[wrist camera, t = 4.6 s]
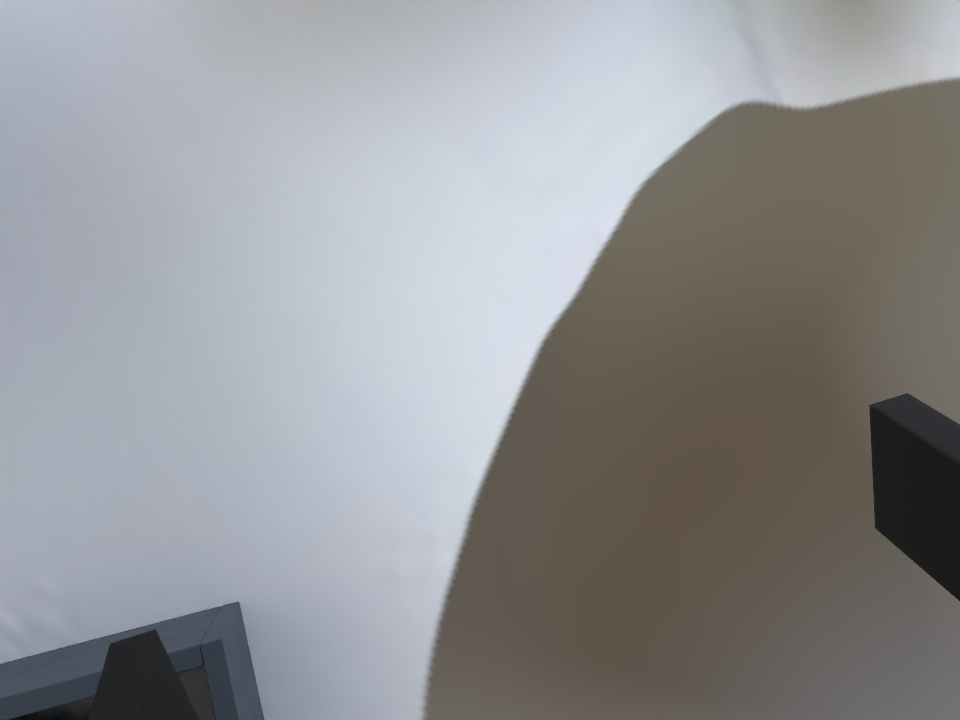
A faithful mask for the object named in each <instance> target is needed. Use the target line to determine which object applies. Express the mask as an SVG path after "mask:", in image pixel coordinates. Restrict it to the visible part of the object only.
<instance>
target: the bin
mask: <svg viewBox="0 0 960 720" xmlns="http://www.w3.org/2000/svg"><path fill="white" fill-rule="evenodd" d="M154 629H156V631H157V633H158V635H159V637H160V639H161V641H162V643H163V645H164V647H165V649H166V652H167V654H168V656H169V658H170V660H171V662H172V664H173V666H174V668H175V670H176V672H177V673H180V672H184V671H187V670H191V669H195V668H198V667H202V666H203V665H204V667H205V672H206V677H207V681H208V686H209V691H210V696H211V701H212V705H213V710H214V715H215V720H264V717H263V712H262V708H261V703H260V698H259V694H258V689H257V684H256V679H255V675H254V670H253V665H252V661H251V656H250V651H249V646H248V642H247V637H246V632H245V627H244V623H243V618H242V613H241V609H240V604H239V602H235V603H231V604H227V605H223V606H222V607H216V608H212V609H208V610H204V611H200V612H197V613H193V614H189V615H185V616H181V617H178V618H174V619H170V620H166V621H162V622H159V623H155V624H151V625H147V626H143V627H140V628H136V629H132V630H128V631H124V632H121V633H117V634H113V635H109V636H105V637H102V638H98V639H94V640H90V641H86V642H83V643H79V644H75V645H71V646H67V647H64V648H60V649H56V650H52V651H48V652H45V653H41V654H37V655H33V656H29V657H26V658H22V659H18V660H14V661H10V662H7V663H3V664H0V720H10V719H14V718H17V717H21V716H24V715H28V714H32V713H35V712H39V711H43V710H46V709H50V708H53V707H57V706H61V705H64V704H68V703H72V702H75V701H79V700H82V699H86V698H90V697H93V696H95V694H96V691H97V687H98V684H99V680H100V677H101V673H102V670H103V666H104V663H105V659H106V656H107V652H108V649H109V645H110V643H113V642H116V641H119V640H122V639H126V638H129V637H132V636H135V635H138V634H142V633H145V632H148V631H151V630H154Z"/></svg>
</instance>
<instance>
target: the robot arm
mask: <svg viewBox="0 0 960 720" xmlns="http://www.w3.org/2000/svg"><path fill="white" fill-rule="evenodd" d="M870 425H871V446H872V447H871V448H872V469H873V491H874V511H875V528H876V529H877V530H878V531H879V532H880V533H881V534H883V535H884V536H885V537H886V538H888V539H889V540H890V541H891V542H892V543H893V544H894V545H895V546H896V547H898V548H899V549H900V550H901V551H902V552H904V553H905V554H906V555H907V556H908V557H909V558H911V559H912V560H913V561H914V562H915V563H916V564H917V565H919V566H920V567H921V568H922V569H923V570H924V571H925V572H927V573H928V574H929V575H930V576H931V577H932V578H934V579H935V580H936V581H937V582H938V583H939V584H940V585H942V586H943V587H944V588H945V589H946V590H947V591H949V592H950V593H951V594H952V595H953V596H955V597H956V598H957V599H958V600H959V601H960V425H959V424H958V423H956V422H954V421H953V420H951V419H949V418H948V417H946V416H944V415H943V414H941V413H939V412H938V411H936V410H934V409H933V408H931V407H929V406H928V405H926V404H924V403H923V402H921V401H919V400H918V399H916V398H914V397H913V396H911V395H909V394H908V393H907V394H903V395H901V396H897V397H894V398H891V399H887V400H884V401H881V402H878V403H875V404H872V405H870ZM88 720H199V719H198V716H197V714H196V712H195V710H194V708H193V706H192V704H191V702H190V700H189V698H188V696H187V693H186V691H185V689H184V687H183V685H182V683H181V681H180V679H179V677H178V675H177V672H176V670H175V668H174V666H173V664H172V662H171V660H170V658H169V656H168V654H167V652H166V649H165V647H164V645H163V643H162V641H161V639H160V637H159V635H158V633H157V631H156V629H154V630H151V631H148V632H145V633H142V634H138V635H135V636H132V637H129V638H126V639H122V640H119V641H116V642H113V643H110V645H109V649H108V652H107V656H106V659H105V663H104V666H103V670H102V673H101V677H100V680H99V684H98V687H97V691H96V694H95V698H94V701H93V705H92V708H91V712H90V715H89V719H88Z"/></svg>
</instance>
